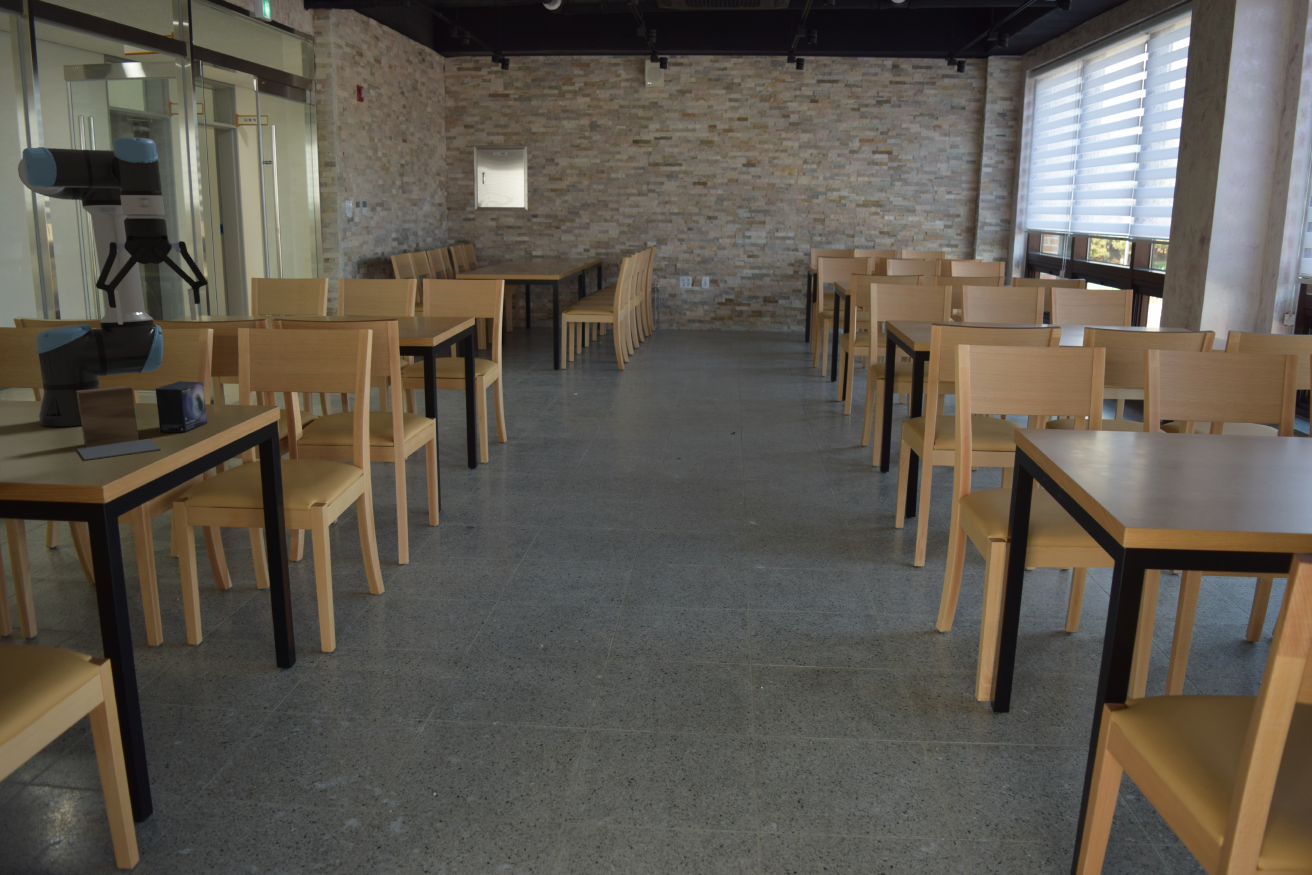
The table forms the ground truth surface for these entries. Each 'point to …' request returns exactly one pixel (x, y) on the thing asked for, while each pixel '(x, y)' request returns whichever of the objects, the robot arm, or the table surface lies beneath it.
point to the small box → (181, 406)
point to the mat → (117, 449)
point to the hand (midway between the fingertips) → (157, 322)
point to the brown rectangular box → (107, 415)
